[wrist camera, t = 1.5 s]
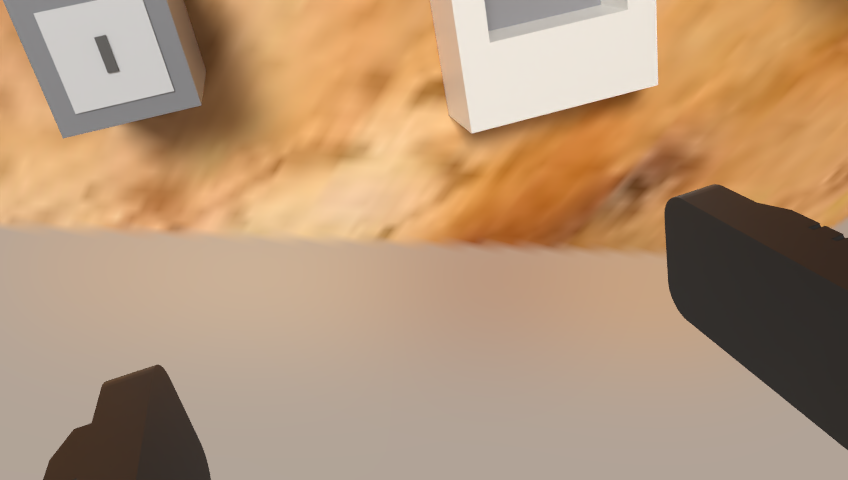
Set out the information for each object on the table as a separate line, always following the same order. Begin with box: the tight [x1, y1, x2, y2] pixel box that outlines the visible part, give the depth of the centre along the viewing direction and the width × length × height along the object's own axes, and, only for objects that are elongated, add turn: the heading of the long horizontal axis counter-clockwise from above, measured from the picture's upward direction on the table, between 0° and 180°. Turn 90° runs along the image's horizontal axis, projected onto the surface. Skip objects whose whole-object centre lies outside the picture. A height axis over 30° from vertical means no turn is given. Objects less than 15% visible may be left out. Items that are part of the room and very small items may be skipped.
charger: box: [3, 0, 206, 138], centre depth 22 cm, size 4×4×6 cm
